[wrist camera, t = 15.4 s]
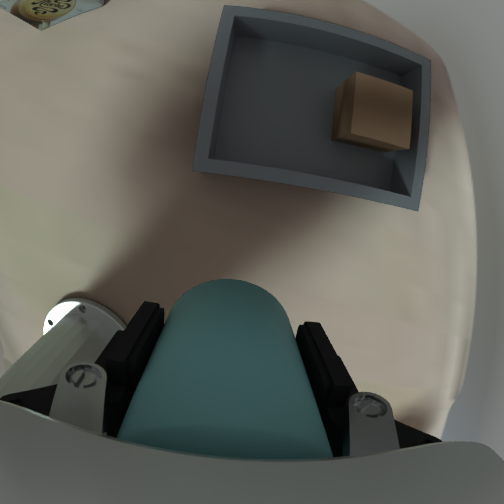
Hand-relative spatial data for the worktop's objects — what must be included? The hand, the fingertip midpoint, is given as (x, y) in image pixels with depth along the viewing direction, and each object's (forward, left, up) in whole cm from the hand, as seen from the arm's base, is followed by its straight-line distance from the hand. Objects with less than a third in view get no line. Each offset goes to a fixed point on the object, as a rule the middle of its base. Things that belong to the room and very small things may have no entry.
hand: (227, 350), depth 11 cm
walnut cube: (+13, -9, -16) cm, 23 cm away
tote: (+13, -5, -17) cm, 22 cm away
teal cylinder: (0, 0, -1) cm, 1 cm away
